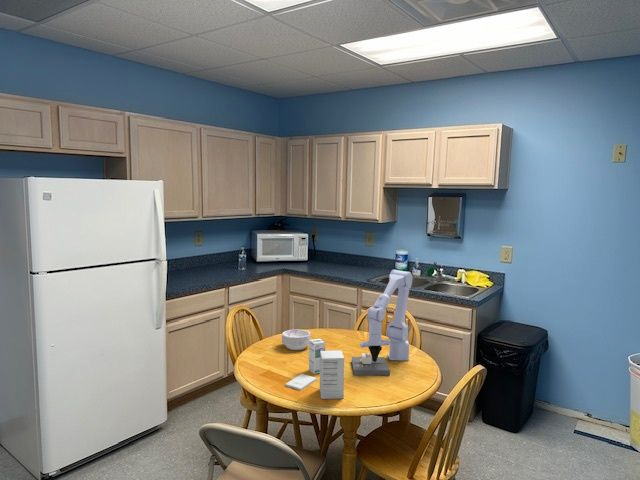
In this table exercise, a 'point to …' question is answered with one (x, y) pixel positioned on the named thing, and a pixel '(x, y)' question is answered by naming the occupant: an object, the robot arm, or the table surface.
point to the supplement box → (331, 374)
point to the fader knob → (366, 358)
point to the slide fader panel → (370, 367)
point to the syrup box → (315, 354)
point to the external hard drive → (300, 382)
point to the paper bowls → (296, 339)
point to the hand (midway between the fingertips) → (374, 361)
